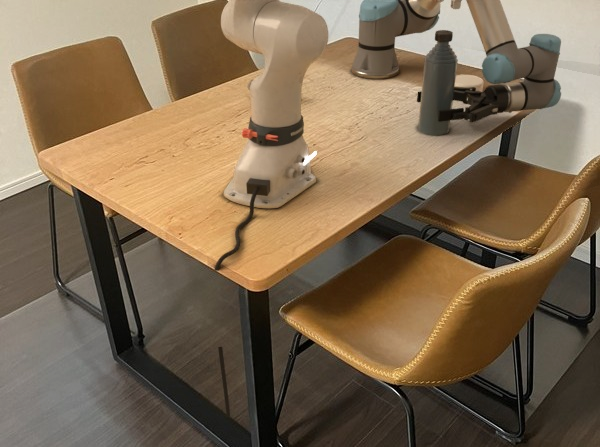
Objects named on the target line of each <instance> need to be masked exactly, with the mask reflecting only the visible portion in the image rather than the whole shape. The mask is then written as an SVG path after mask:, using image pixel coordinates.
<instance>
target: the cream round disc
mask: <svg viewBox="0 0 600 447" xmlns="http://www.w3.org/2000/svg"><path fill="white" fill-rule="evenodd" d="M484 84H485V81H484V79H483V78H481V77H480V76H477V75H473V74H456V79H455V87H475V88H476V91H481V92H483V91H484Z"/></svg>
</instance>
